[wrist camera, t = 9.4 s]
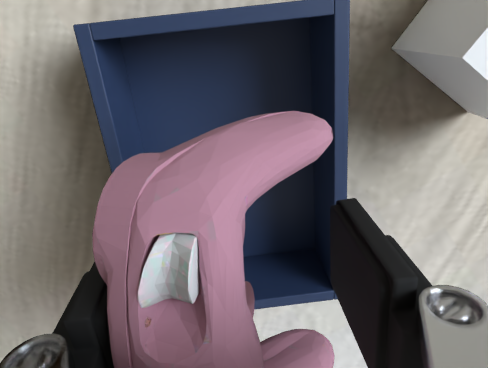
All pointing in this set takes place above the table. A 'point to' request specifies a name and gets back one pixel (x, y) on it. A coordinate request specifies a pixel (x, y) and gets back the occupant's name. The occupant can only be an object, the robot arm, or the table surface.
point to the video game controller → (199, 248)
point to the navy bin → (236, 114)
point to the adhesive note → (451, 50)
